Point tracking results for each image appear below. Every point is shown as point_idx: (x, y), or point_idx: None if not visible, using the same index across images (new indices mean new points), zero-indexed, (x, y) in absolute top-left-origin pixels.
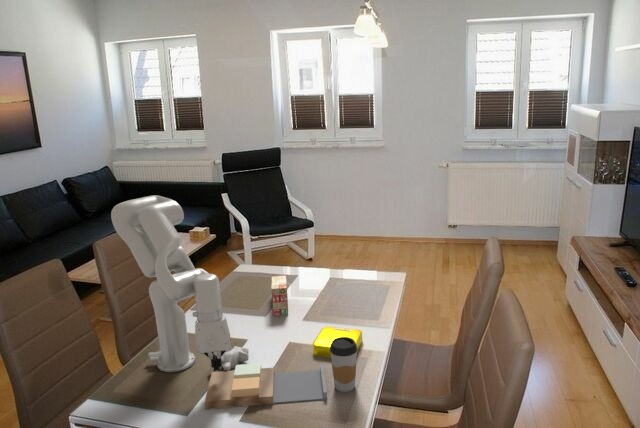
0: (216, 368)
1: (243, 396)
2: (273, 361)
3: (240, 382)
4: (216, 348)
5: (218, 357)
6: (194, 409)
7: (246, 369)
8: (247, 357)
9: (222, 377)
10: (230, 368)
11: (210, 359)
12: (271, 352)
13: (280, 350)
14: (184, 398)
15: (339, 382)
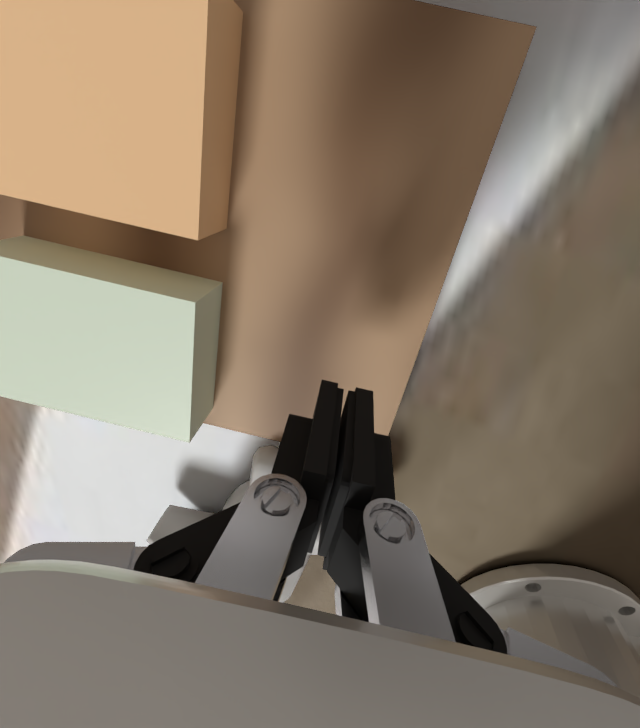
0: (342, 414)
1: None
2: (45, 459)
3: (119, 133)
4: (224, 700)
5: (283, 497)
6: (600, 84)
7: (96, 352)
8: (159, 521)
9: (312, 380)
10: (253, 457)
11: (401, 505)
12: (69, 526)
13: (29, 524)
14: (617, 288)
15: None
